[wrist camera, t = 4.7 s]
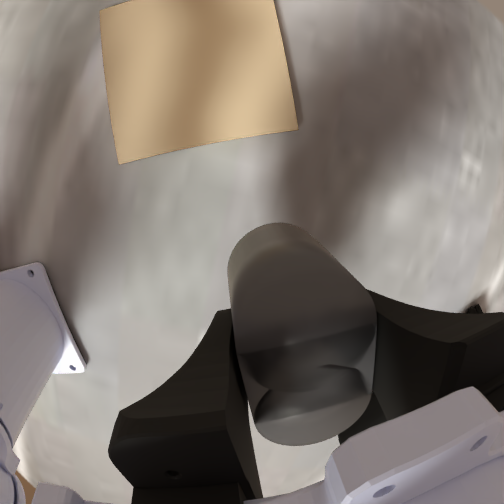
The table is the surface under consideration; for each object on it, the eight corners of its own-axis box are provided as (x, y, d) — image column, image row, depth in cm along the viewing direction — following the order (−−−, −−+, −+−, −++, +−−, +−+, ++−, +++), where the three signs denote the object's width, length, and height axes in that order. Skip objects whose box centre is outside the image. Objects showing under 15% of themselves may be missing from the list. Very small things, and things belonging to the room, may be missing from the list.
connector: (218, 233, 12) (221, 289, 7) (318, 214, 12) (377, 256, 8) (255, 399, 15) (269, 477, 10) (329, 382, 15) (362, 453, 11)
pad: (122, 164, 15) (118, 164, 14) (102, 14, 12) (99, 10, 11) (295, 130, 15) (298, 129, 15) (266, -18, 12) (267, -22, 12)
